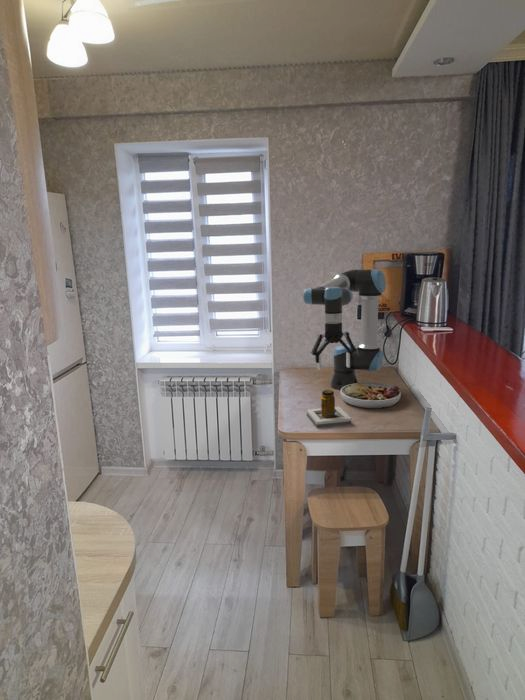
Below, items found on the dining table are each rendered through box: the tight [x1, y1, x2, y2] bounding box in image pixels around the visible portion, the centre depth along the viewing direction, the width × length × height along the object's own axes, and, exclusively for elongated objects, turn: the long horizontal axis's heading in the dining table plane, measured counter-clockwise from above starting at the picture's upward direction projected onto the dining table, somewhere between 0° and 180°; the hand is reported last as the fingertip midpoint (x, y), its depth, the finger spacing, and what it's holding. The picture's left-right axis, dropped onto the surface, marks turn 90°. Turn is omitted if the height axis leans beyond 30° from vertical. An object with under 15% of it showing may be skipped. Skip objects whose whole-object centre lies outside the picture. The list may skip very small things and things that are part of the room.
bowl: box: [339, 382, 402, 409], centre depth 239 cm, size 30×30×8 cm
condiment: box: [319, 389, 341, 419], centre depth 214 cm, size 7×8×12 cm
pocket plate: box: [306, 406, 352, 429], centre depth 215 cm, size 16×16×3 cm
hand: (333, 368), depth 212 cm, fingers open, 13 cm apart
